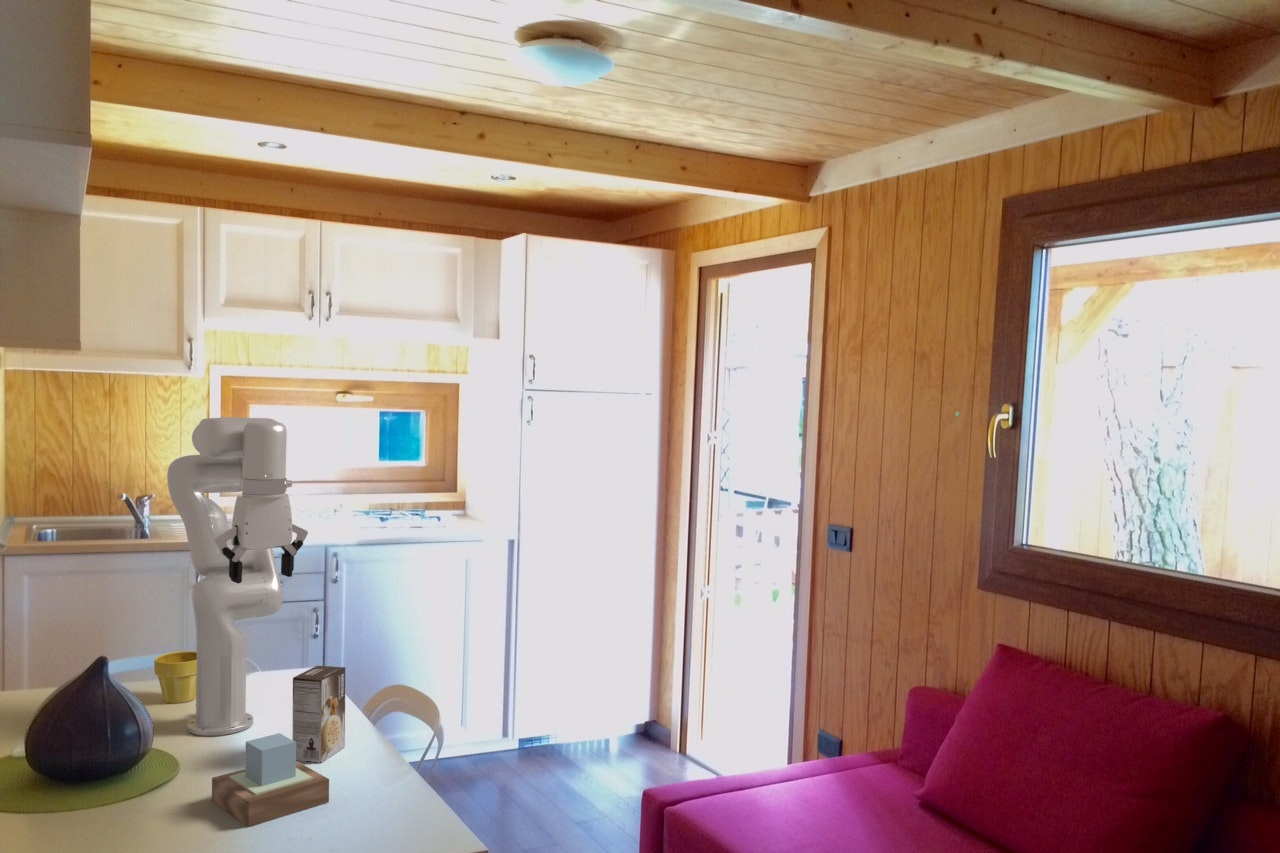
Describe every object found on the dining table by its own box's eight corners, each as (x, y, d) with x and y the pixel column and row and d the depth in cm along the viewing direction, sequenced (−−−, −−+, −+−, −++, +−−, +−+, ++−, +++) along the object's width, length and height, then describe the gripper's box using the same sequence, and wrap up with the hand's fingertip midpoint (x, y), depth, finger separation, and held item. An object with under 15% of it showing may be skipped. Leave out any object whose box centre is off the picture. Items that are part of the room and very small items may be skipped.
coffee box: (316, 744, 194) (317, 664, 194) (345, 747, 193) (346, 666, 193) (290, 760, 185) (292, 676, 185) (321, 764, 184) (322, 679, 184)
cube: (245, 776, 166) (245, 741, 166) (278, 767, 171) (279, 733, 171) (261, 786, 162) (262, 750, 162) (295, 776, 167) (296, 742, 167)
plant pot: (152, 708, 214) (152, 664, 214) (155, 695, 223) (155, 652, 223) (204, 703, 218) (204, 660, 218) (205, 690, 228) (205, 649, 227)
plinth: (211, 800, 166) (212, 775, 166) (289, 779, 177) (290, 755, 176) (248, 826, 157) (249, 800, 157) (328, 802, 167) (329, 777, 167)
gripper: (298, 483, 190) (296, 570, 191) (208, 488, 178) (206, 580, 179) (317, 487, 185) (314, 576, 186) (226, 492, 173) (224, 588, 174)
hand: (261, 578), depth 183 cm, fingers open, 9 cm apart
